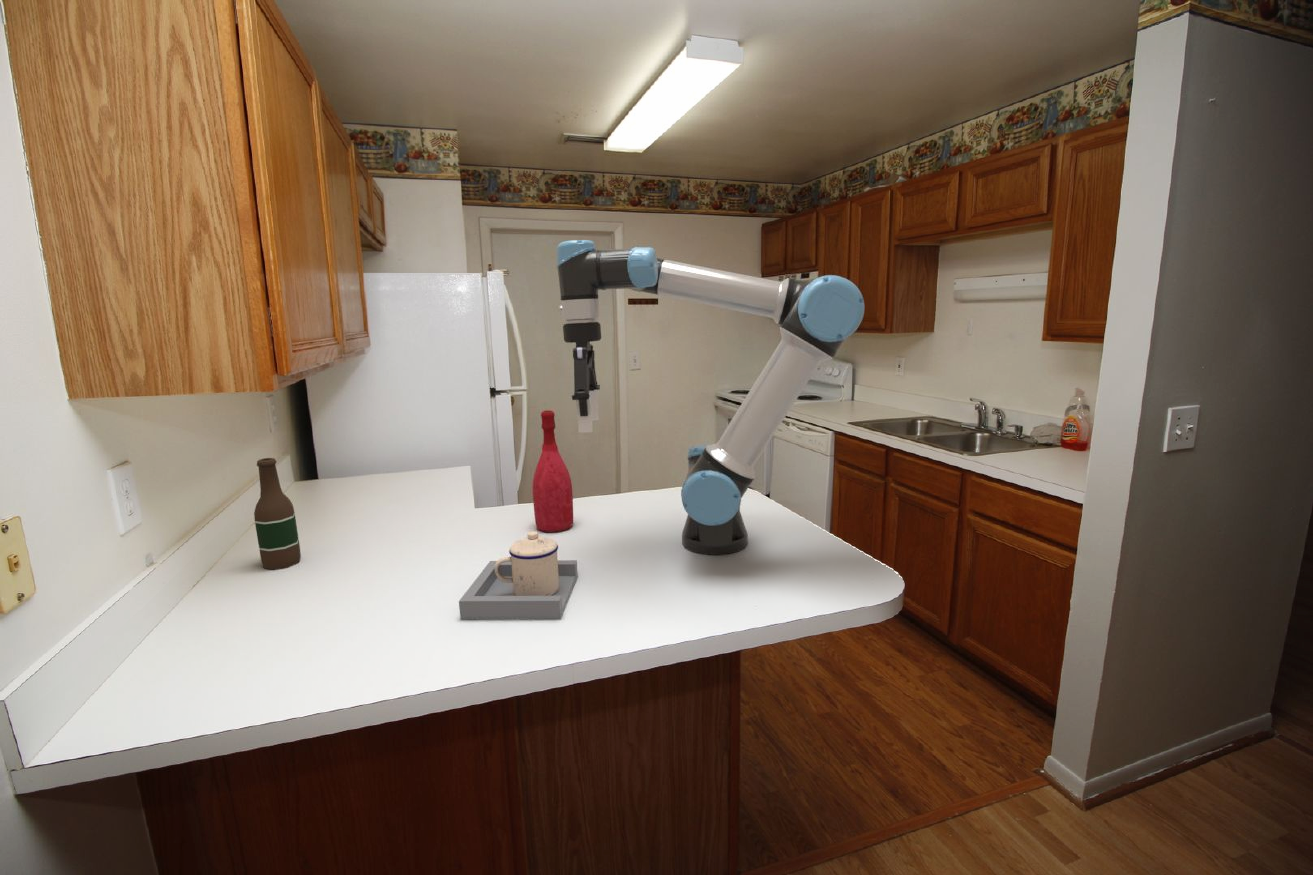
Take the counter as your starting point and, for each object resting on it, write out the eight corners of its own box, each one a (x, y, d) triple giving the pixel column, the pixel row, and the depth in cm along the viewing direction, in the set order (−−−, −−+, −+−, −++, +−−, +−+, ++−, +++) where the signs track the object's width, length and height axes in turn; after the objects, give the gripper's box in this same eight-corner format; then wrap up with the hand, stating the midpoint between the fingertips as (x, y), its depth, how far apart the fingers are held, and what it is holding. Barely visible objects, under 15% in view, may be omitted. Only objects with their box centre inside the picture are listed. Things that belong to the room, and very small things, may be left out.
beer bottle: (307, 562, 137) (291, 458, 132) (267, 573, 131) (250, 465, 127) (295, 553, 142) (280, 453, 137) (257, 564, 137) (240, 460, 132)
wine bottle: (566, 534, 150) (559, 413, 144) (529, 532, 152) (520, 413, 146) (579, 521, 159) (573, 407, 153) (543, 519, 161) (536, 407, 155)
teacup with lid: (558, 577, 123) (555, 522, 120) (562, 597, 114) (559, 538, 112) (497, 585, 120) (492, 528, 118) (496, 606, 111) (491, 545, 109)
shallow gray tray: (577, 576, 126) (576, 560, 125) (560, 618, 108) (559, 600, 107) (491, 576, 127) (490, 560, 126) (460, 619, 109) (458, 601, 108)
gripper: (570, 322, 135) (578, 417, 139) (552, 323, 110) (562, 438, 114) (604, 320, 134) (611, 415, 139) (594, 321, 110) (602, 436, 114)
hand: (589, 426), depth 126 cm, fingers open, 13 cm apart
